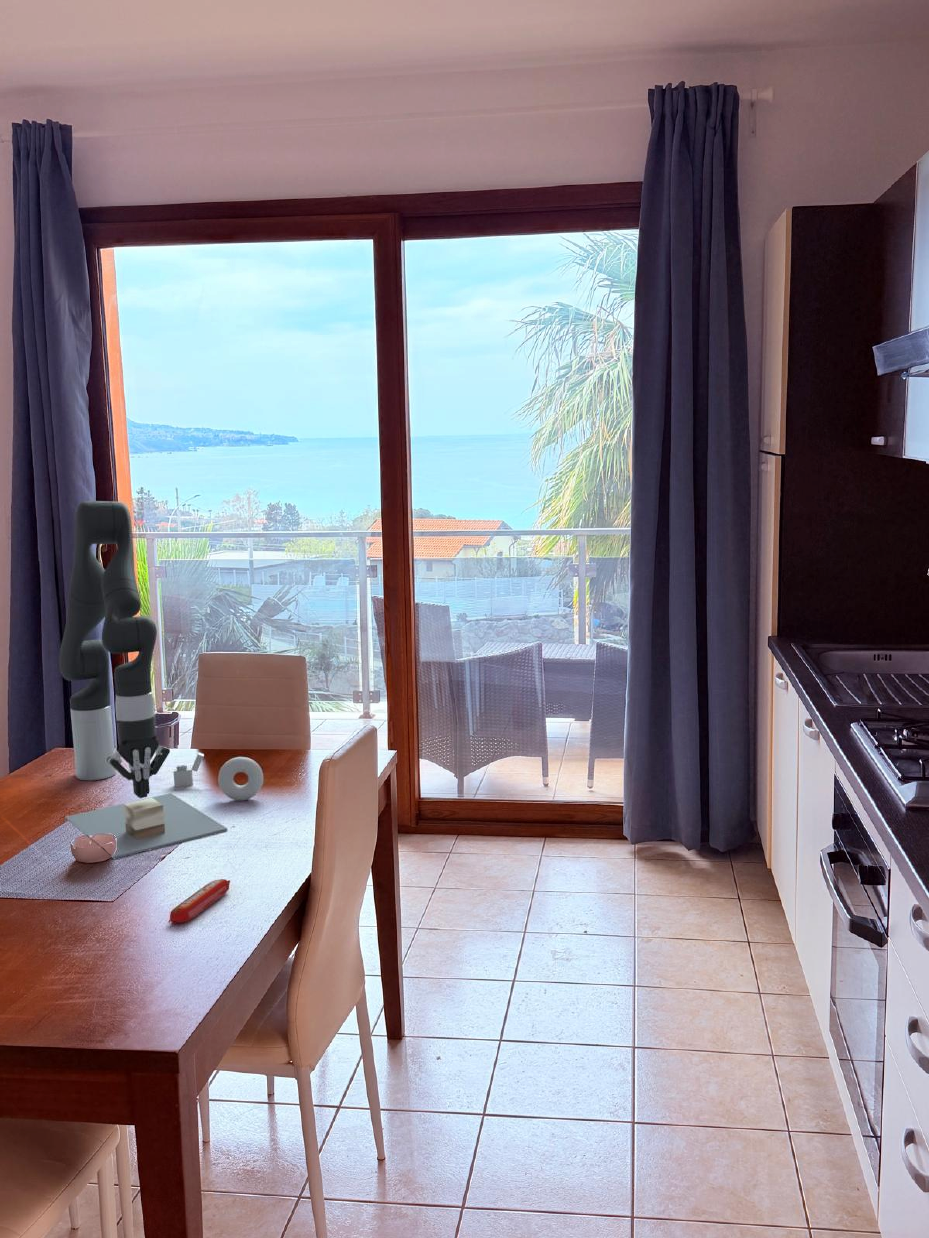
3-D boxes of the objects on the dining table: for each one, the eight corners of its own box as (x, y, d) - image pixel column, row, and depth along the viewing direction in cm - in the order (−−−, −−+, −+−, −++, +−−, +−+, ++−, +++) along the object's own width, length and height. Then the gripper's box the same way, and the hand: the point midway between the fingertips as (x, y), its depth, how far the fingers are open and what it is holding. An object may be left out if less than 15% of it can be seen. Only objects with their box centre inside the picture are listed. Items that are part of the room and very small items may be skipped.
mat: (64, 818, 238) (64, 816, 238) (170, 795, 252) (170, 793, 252) (113, 859, 214) (112, 856, 214) (227, 830, 229) (227, 828, 228)
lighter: (174, 789, 257) (172, 755, 255) (175, 786, 258) (172, 753, 257) (205, 786, 258) (203, 753, 257) (206, 784, 260) (204, 751, 258)
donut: (265, 796, 250) (262, 753, 248) (264, 801, 247) (261, 757, 245) (220, 799, 249) (217, 756, 247) (218, 804, 245) (215, 760, 244)
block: (134, 811, 222) (136, 839, 223) (163, 804, 226) (165, 832, 227) (123, 803, 227) (126, 831, 228) (152, 797, 230) (154, 825, 231)
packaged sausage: (216, 889, 200) (214, 873, 199) (233, 891, 198) (232, 875, 198) (165, 927, 185) (163, 910, 184) (184, 929, 184) (182, 912, 183)
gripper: (159, 705, 230) (165, 785, 233) (96, 716, 223) (103, 799, 226) (174, 712, 225) (179, 794, 227) (109, 724, 217) (116, 808, 220)
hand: (141, 796), depth 226 cm, fingers closed
